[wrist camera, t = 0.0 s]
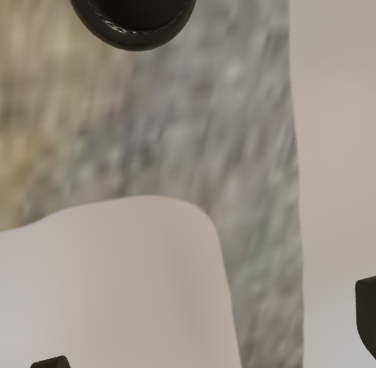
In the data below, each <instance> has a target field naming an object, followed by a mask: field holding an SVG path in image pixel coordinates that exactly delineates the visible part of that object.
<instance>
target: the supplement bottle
mask: <svg viewBox="0 0 376 368" xmlns="http://www.w3.org/2000/svg"><path fill="white" fill-rule="evenodd" d="M70 2H71V5H72V7H73V9H74V11H75V12H76V14H77V16H78V17H79V19H80V20H81V22H82V23H83V24H84V25H85V26H86V28H87V29H88V30H89V31H90V32H91V33H92V34H94V35H95V36H96V37H97V38H99V39H100V40H102V41H103V42H105V43H107V44H109V45H111V46H113V47H116V48H119V49H122V50H127V51H147V50H151V49H155V48H157V47H160V46H162V45H164V44H166V43H167V42H169V41H170V40H172V39H173V38H174V37H175V36H176V35H178V33H179V32H180V31H181V30H182V29H183V28H184V26H185V25H186V23H187V22H188V20H189V18H190V16H191V15H192V12H193V10H194V7H195V4H196V0H70Z"/></svg>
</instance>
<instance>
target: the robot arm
mask: <svg viewBox="0 0 376 368" xmlns="http://www.w3.org/2000/svg"><path fill="white" fill-rule="evenodd" d="M355 293H356V320H357V321H356V323H357V329H358V333H359V335H360V338H361V340H362V342H363V344H364V345H365V347H366V348H367V350H368V351H369V352H370V353H371V354H372V356H373V357H374V358H375V359H376V276H374V277H370V278H365V279H362V280H358V281H357V282H356V285H355ZM30 368H70V365H69V363H68V360H67V358H66V357H65V356H59V357H54V358H51V359H47V360H43V361H39V362H35V363H33V364H32V365H31V367H30Z"/></svg>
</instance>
